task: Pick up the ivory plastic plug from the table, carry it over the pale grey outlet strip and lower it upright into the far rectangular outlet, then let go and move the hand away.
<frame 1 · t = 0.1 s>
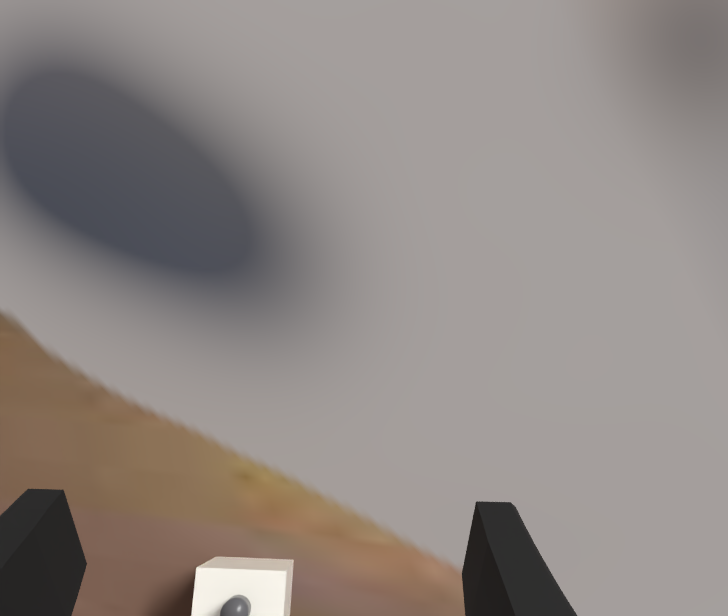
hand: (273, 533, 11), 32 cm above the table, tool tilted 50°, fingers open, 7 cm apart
plug: (252, 591, 40), on the table
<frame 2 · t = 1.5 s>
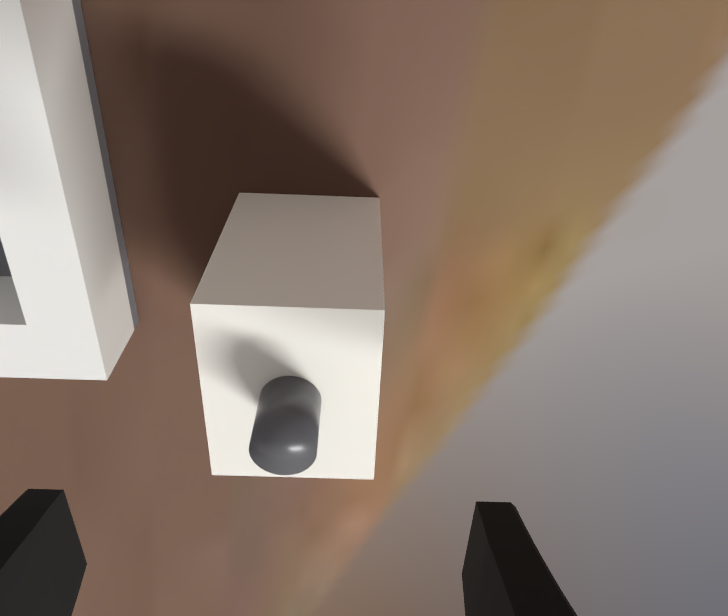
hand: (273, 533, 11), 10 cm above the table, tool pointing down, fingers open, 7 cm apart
plug: (310, 271, 19), on the table
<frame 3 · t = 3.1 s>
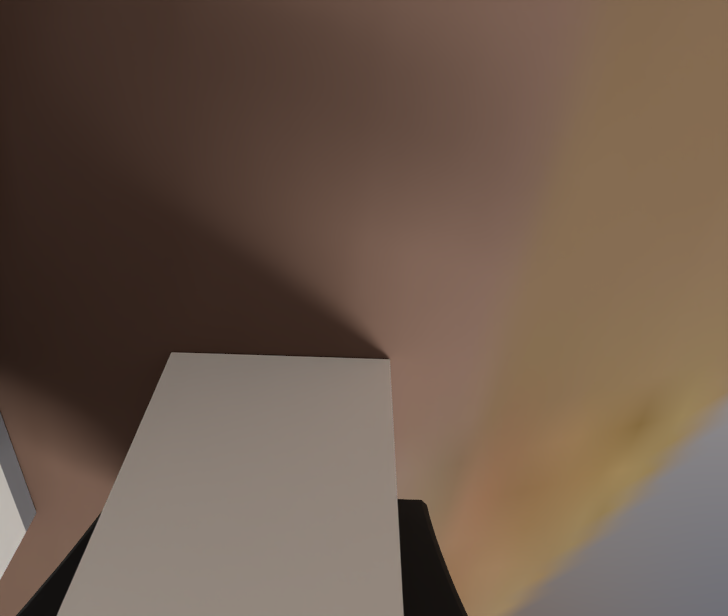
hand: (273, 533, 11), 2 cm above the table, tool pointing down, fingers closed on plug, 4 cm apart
plug: (284, 453, 13), on the table, touching gripper
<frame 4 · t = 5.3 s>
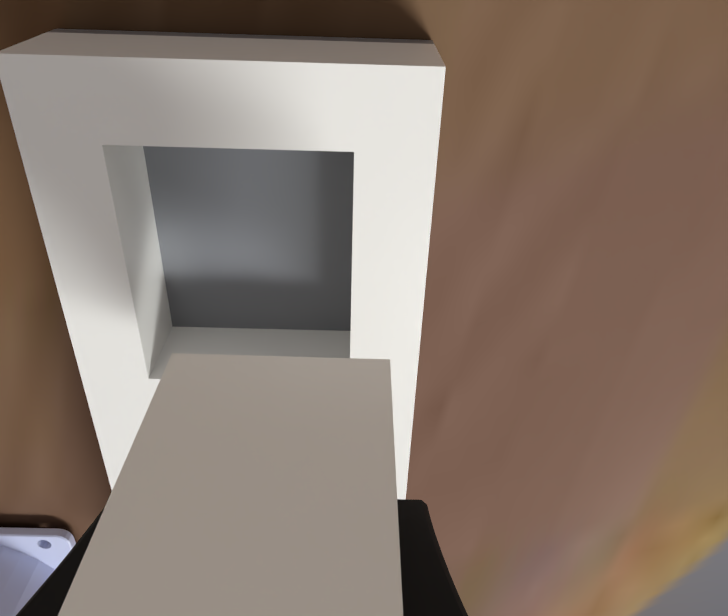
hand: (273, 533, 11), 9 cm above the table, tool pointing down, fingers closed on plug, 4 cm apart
outlet strip: (267, 365, 20), on the table
plug: (285, 454, 13), point 7 cm above the table, touching gripper
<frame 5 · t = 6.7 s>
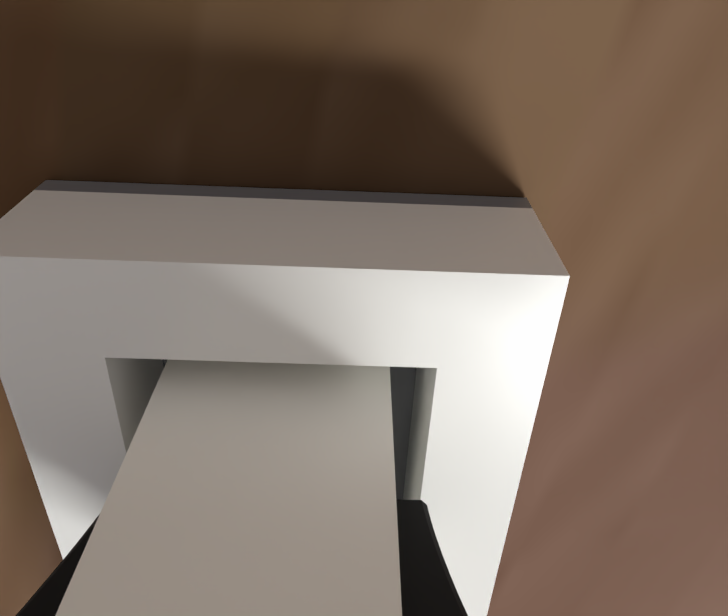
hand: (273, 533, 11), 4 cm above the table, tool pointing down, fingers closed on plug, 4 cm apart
outlet strip: (297, 535, 17), on the table
plug: (285, 453, 13), point 2 cm above the table, touching gripper
when the fingers open (3 cm above the table, at t = 7.7 s): plug stays where it is, resting on outlet strip.
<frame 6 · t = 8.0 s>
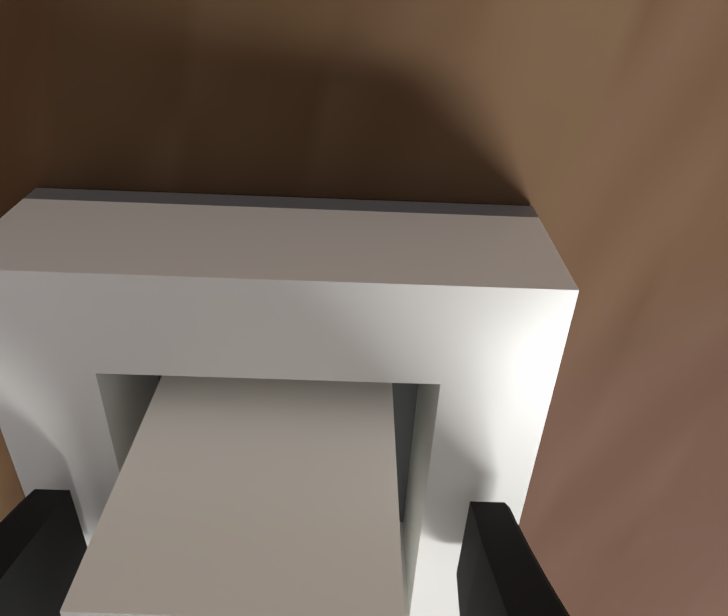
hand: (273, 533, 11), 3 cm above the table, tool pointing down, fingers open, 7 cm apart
outlet strip: (296, 548, 17), on the table
plug: (289, 421, 14), resting on outlet strip
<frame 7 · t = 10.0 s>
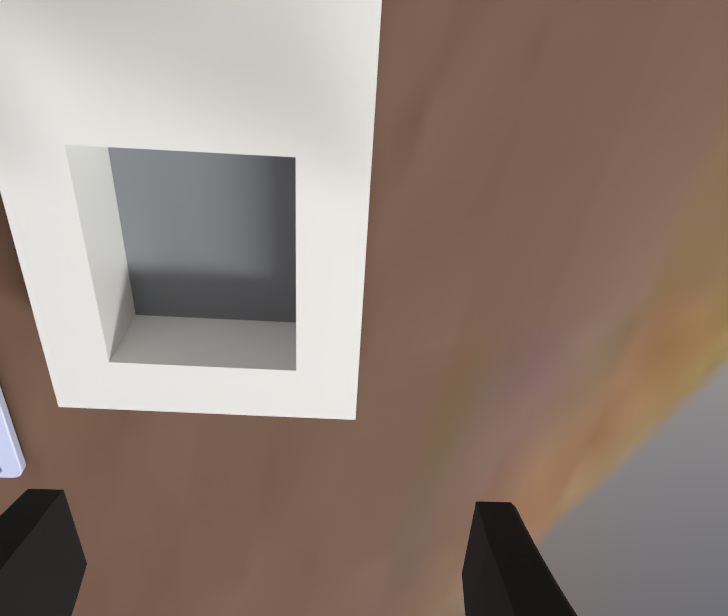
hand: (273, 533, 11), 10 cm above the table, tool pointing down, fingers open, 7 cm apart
outlet strip: (202, 45, 16), on the table
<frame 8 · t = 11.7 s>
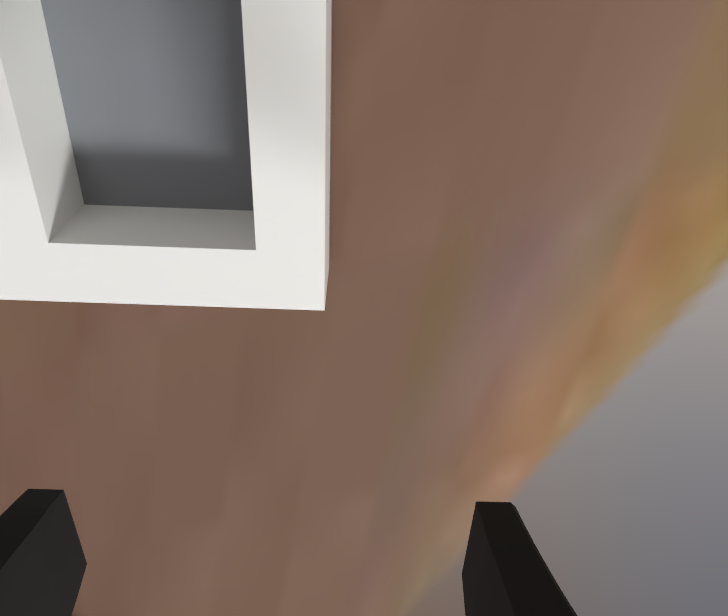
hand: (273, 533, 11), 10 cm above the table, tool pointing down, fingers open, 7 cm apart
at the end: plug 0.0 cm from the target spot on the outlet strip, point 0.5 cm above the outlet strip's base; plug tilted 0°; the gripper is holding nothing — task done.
